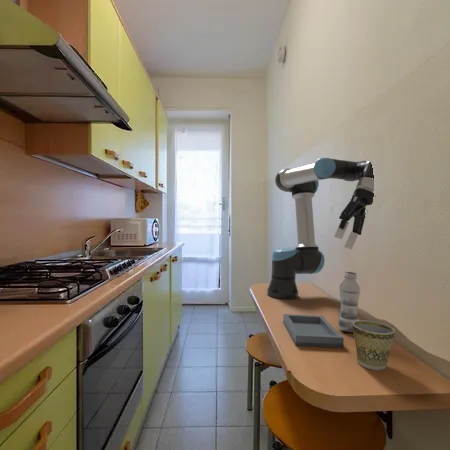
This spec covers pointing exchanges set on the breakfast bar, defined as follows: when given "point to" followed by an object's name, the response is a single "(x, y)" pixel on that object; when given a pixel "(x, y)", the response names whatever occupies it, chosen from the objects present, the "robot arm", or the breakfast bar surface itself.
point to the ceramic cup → (373, 343)
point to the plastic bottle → (348, 302)
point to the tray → (312, 331)
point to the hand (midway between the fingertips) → (343, 243)
